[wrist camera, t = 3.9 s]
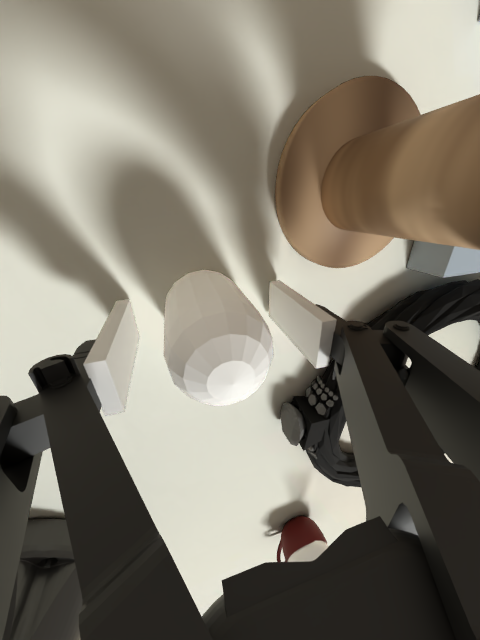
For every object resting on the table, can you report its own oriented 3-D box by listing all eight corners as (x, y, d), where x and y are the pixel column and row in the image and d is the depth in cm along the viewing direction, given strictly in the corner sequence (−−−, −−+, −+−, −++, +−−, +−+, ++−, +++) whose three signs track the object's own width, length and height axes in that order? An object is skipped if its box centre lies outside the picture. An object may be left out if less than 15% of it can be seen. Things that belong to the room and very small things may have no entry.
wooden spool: (272, 271, 16) (454, 388, 6) (278, 77, 12) (1059, -815, 1) (389, 258, 19) (669, 326, 8) (432, 90, 14) (1170, -227, 4)
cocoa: (272, 539, 36) (309, 675, 26) (265, 524, 33) (305, 673, 23) (327, 516, 37) (384, 638, 27) (326, 499, 34) (390, 631, 24)
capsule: (146, 311, 15) (129, 400, 8) (203, 251, 15) (236, 295, 8) (205, 353, 18) (230, 447, 11) (256, 304, 17) (315, 371, 10)
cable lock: (460, 466, 34) (273, 526, 26) (434, 443, 38) (261, 490, 29) (598, 285, 23) (337, 288, 14) (543, 275, 26) (305, 272, 18)
